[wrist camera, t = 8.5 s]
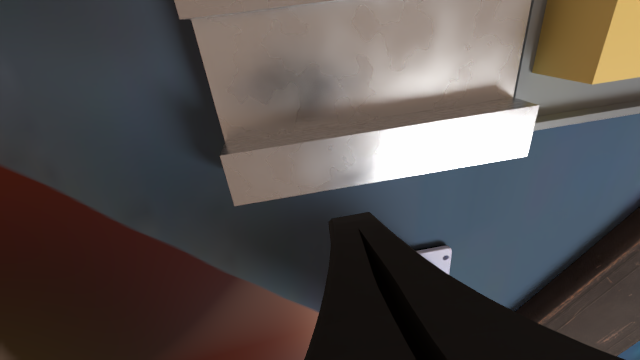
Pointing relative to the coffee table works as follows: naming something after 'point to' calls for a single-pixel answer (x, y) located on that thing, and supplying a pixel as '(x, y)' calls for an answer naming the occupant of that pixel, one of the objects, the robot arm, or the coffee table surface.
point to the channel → (360, 89)
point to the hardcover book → (596, 293)
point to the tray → (568, 87)
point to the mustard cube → (590, 40)
